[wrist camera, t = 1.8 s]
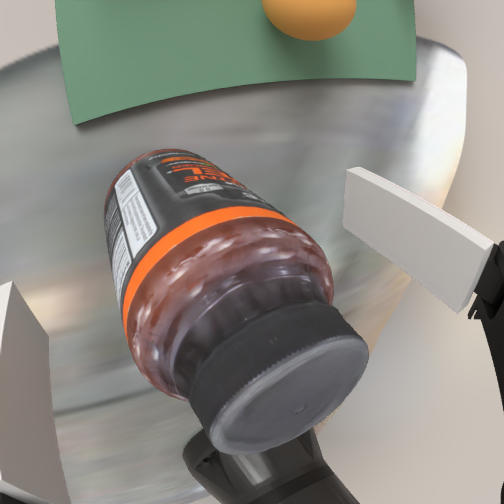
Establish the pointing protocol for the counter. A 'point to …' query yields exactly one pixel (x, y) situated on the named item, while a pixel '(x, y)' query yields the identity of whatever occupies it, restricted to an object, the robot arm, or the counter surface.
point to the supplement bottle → (226, 302)
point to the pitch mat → (214, 49)
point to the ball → (310, 17)
